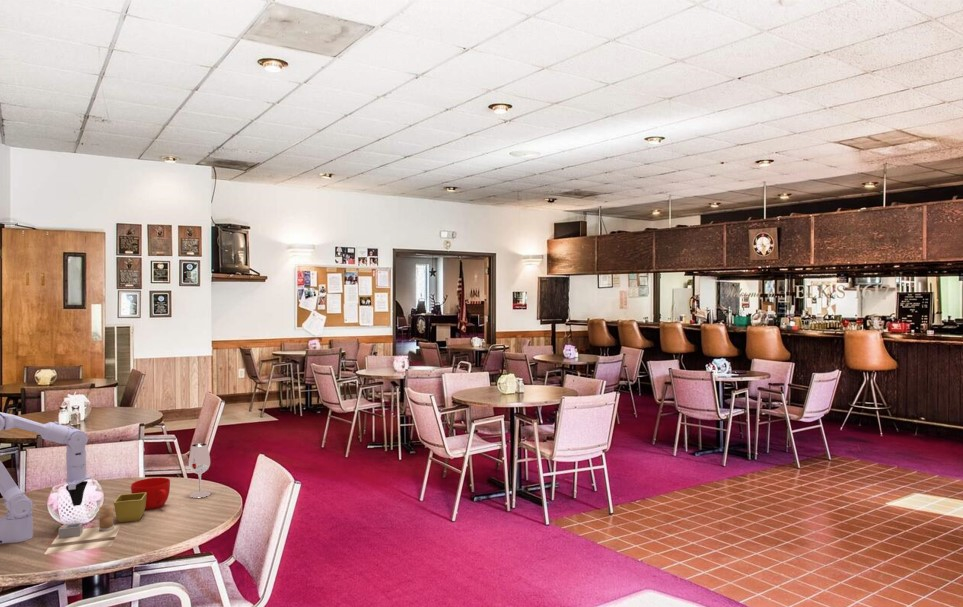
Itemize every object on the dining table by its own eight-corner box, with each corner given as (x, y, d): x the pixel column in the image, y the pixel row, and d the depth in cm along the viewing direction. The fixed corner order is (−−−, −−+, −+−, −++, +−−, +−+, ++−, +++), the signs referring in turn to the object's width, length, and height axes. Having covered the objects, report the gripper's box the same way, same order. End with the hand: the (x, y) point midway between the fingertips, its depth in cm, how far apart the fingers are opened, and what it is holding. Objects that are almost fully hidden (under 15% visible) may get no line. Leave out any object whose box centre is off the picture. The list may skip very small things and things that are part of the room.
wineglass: (189, 493, 266) (188, 443, 265) (210, 491, 269) (209, 441, 268) (189, 499, 258) (188, 448, 258) (211, 496, 262) (210, 445, 261)
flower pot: (113, 528, 229) (113, 502, 228) (120, 519, 237) (119, 494, 237) (142, 525, 231) (141, 499, 231) (147, 517, 239) (147, 492, 239)
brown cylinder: (97, 532, 221) (97, 509, 220) (100, 527, 225) (99, 505, 225) (112, 530, 222) (112, 508, 222) (115, 526, 226) (114, 504, 226)
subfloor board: (43, 559, 203) (43, 554, 203) (60, 536, 222) (60, 531, 222) (110, 550, 209) (110, 546, 209) (121, 528, 228) (121, 524, 228)
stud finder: (58, 538, 215) (58, 528, 215) (61, 534, 219) (61, 524, 219) (79, 536, 217) (79, 526, 217) (82, 531, 221) (82, 522, 221)
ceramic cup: (147, 520, 236) (147, 492, 236) (124, 510, 246) (124, 483, 246) (183, 510, 246) (182, 483, 246) (159, 501, 257) (159, 475, 256)
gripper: (85, 469, 222) (86, 510, 222) (94, 458, 235) (95, 497, 236) (60, 471, 219) (61, 512, 220) (71, 460, 233) (72, 499, 233)
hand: (77, 504), depth 227 cm, fingers closed
